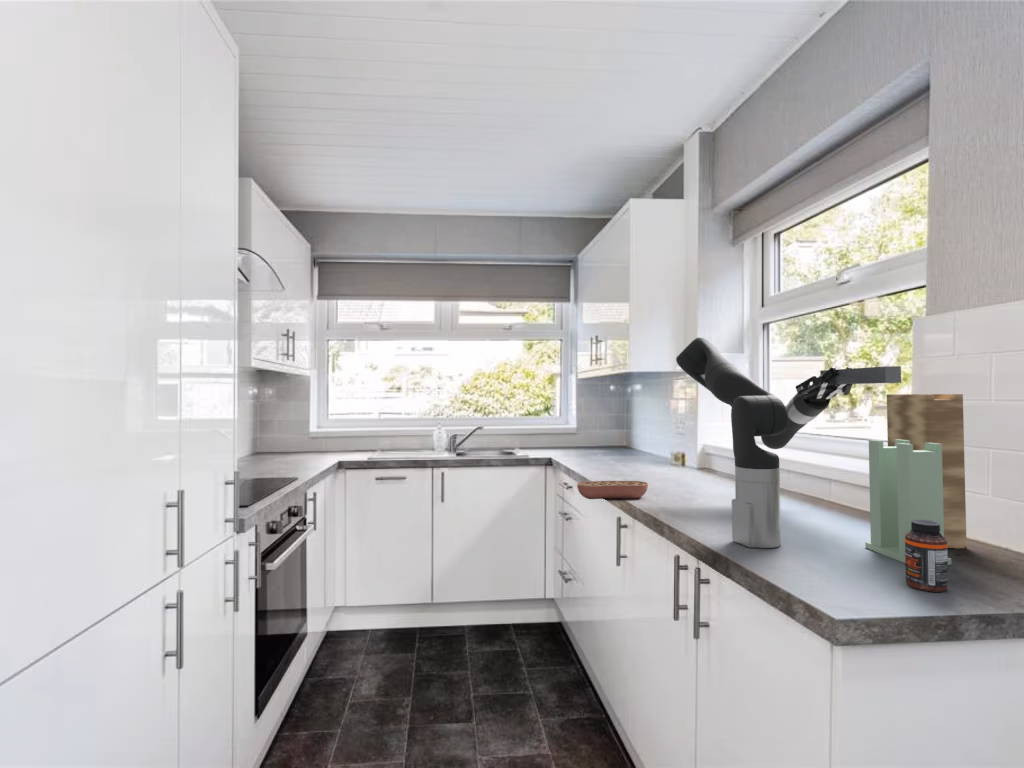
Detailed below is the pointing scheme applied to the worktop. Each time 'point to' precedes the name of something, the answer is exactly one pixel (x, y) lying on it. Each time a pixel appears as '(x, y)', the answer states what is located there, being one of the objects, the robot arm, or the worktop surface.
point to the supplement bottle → (926, 557)
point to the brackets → (903, 493)
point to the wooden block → (943, 425)
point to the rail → (867, 375)
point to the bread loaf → (612, 489)
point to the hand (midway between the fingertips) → (843, 370)
